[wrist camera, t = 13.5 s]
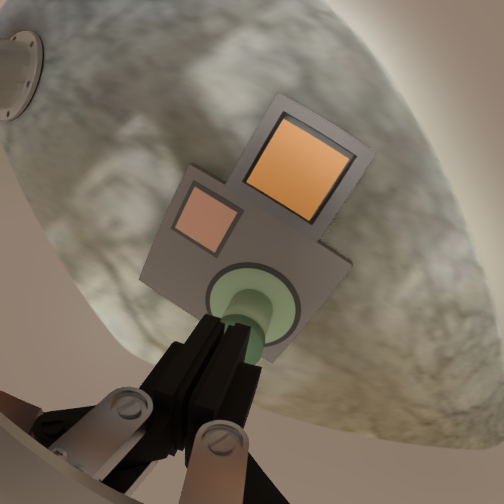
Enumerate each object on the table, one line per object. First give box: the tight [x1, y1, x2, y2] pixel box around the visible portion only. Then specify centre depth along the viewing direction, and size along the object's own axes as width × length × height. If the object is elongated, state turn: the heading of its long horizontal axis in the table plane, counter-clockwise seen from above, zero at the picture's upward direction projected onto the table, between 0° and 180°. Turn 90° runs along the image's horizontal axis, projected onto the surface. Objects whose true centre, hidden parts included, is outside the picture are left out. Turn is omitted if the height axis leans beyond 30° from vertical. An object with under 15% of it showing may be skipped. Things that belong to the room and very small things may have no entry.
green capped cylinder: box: [221, 289, 273, 365], centre depth 25 cm, size 4×4×6 cm
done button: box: [247, 119, 349, 221], centre depth 21 cm, size 5×5×2 cm
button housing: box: [224, 93, 376, 243], centre depth 22 cm, size 8×8×3 cm
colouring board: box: [139, 163, 353, 363], centre depth 28 cm, size 16×13×1 cm
